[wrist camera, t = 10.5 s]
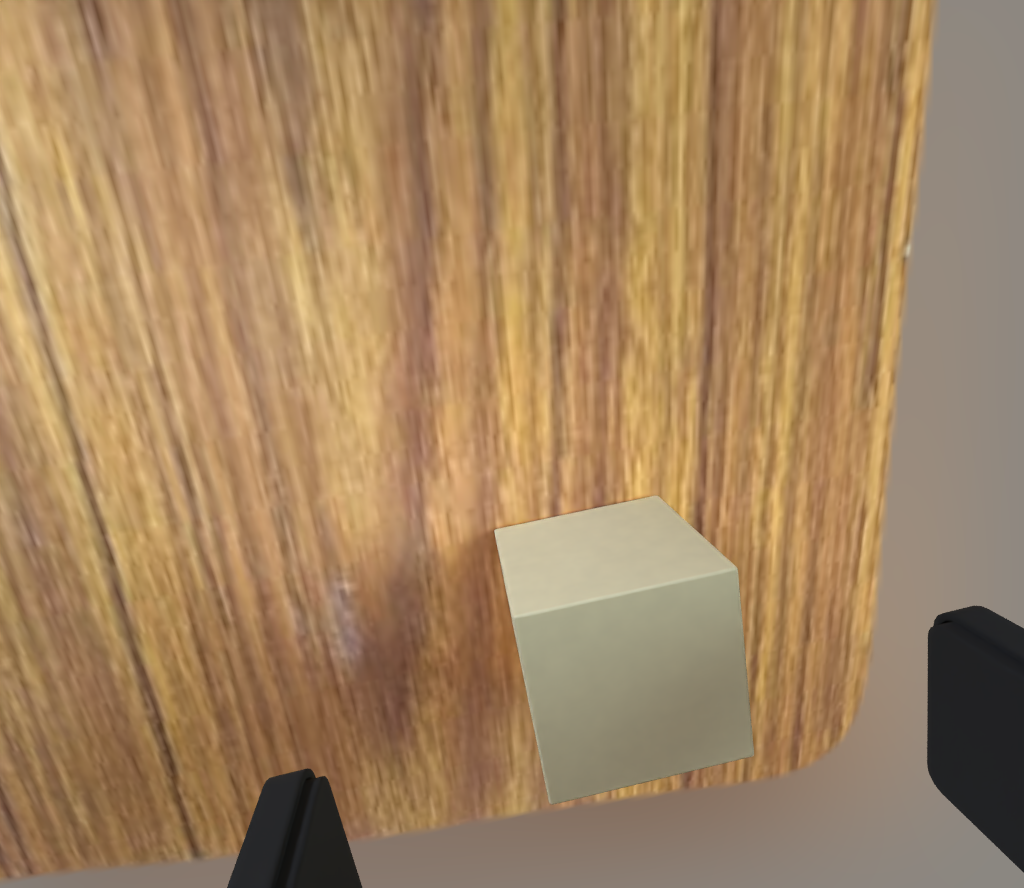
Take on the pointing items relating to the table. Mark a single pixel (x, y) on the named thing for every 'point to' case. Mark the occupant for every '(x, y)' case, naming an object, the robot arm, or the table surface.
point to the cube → (626, 646)
